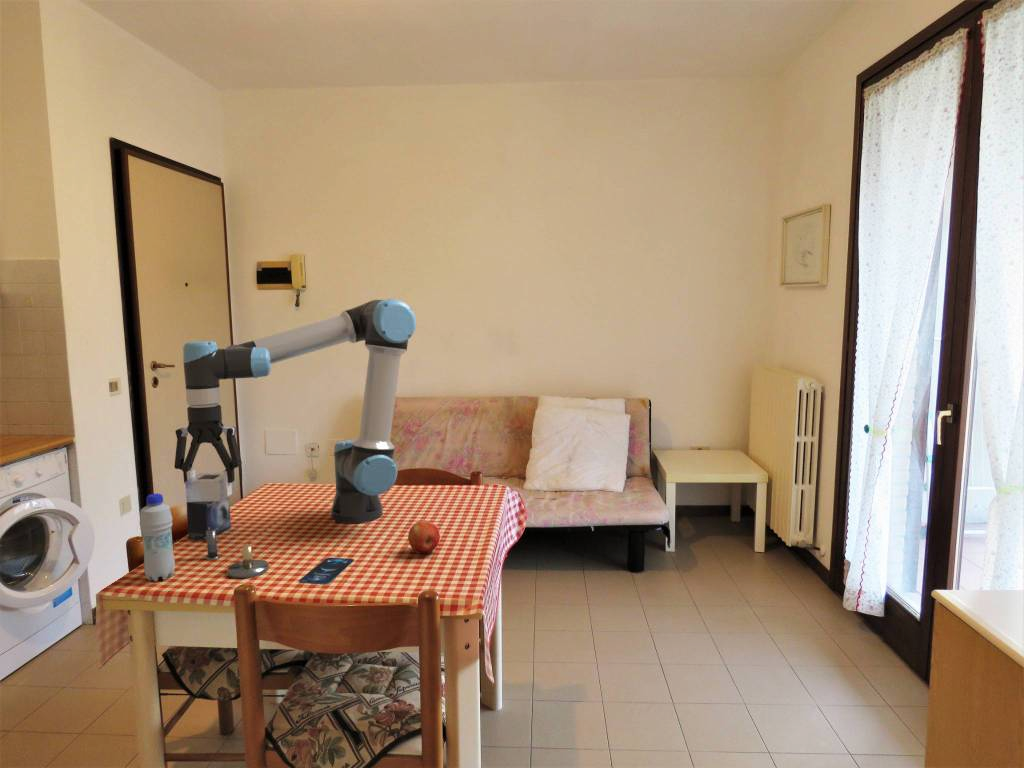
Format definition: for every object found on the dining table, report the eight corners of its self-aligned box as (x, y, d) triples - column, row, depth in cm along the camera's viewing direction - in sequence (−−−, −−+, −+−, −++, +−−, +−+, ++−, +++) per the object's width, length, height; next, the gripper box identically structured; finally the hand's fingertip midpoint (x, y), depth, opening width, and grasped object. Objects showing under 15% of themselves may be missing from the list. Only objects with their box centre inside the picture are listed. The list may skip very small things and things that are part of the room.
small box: (208, 541, 176) (205, 503, 174) (187, 539, 177) (184, 502, 176) (232, 528, 186) (230, 492, 185) (212, 526, 187) (209, 491, 186)
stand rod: (222, 554, 166) (220, 528, 165) (216, 560, 162) (215, 532, 161) (208, 555, 165) (206, 528, 165) (203, 560, 162) (201, 533, 161)
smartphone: (355, 558, 162) (328, 583, 147) (356, 561, 162) (328, 586, 147) (327, 557, 163) (296, 581, 148) (327, 559, 163) (297, 583, 149)
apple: (439, 545, 171) (438, 515, 170) (441, 557, 162) (440, 526, 162) (408, 547, 169) (407, 517, 168) (408, 559, 161) (408, 528, 160)
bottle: (152, 572, 155) (145, 490, 153) (181, 570, 156) (175, 489, 153) (138, 584, 149) (131, 498, 146) (169, 582, 149) (162, 497, 147)
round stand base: (273, 562, 160) (272, 539, 159) (261, 578, 151) (259, 553, 150) (236, 563, 160) (234, 540, 159) (221, 579, 151) (219, 554, 150)
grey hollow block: (233, 491, 166) (232, 472, 165) (220, 501, 158) (218, 481, 157) (201, 492, 166) (200, 473, 165) (186, 501, 158) (185, 481, 157)
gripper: (252, 401, 163) (258, 490, 166) (168, 403, 162) (175, 492, 165) (241, 406, 155) (247, 499, 158) (152, 408, 155) (160, 501, 158)
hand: (210, 495), depth 162 cm, fingers closed on grey hollow block, 8 cm apart
